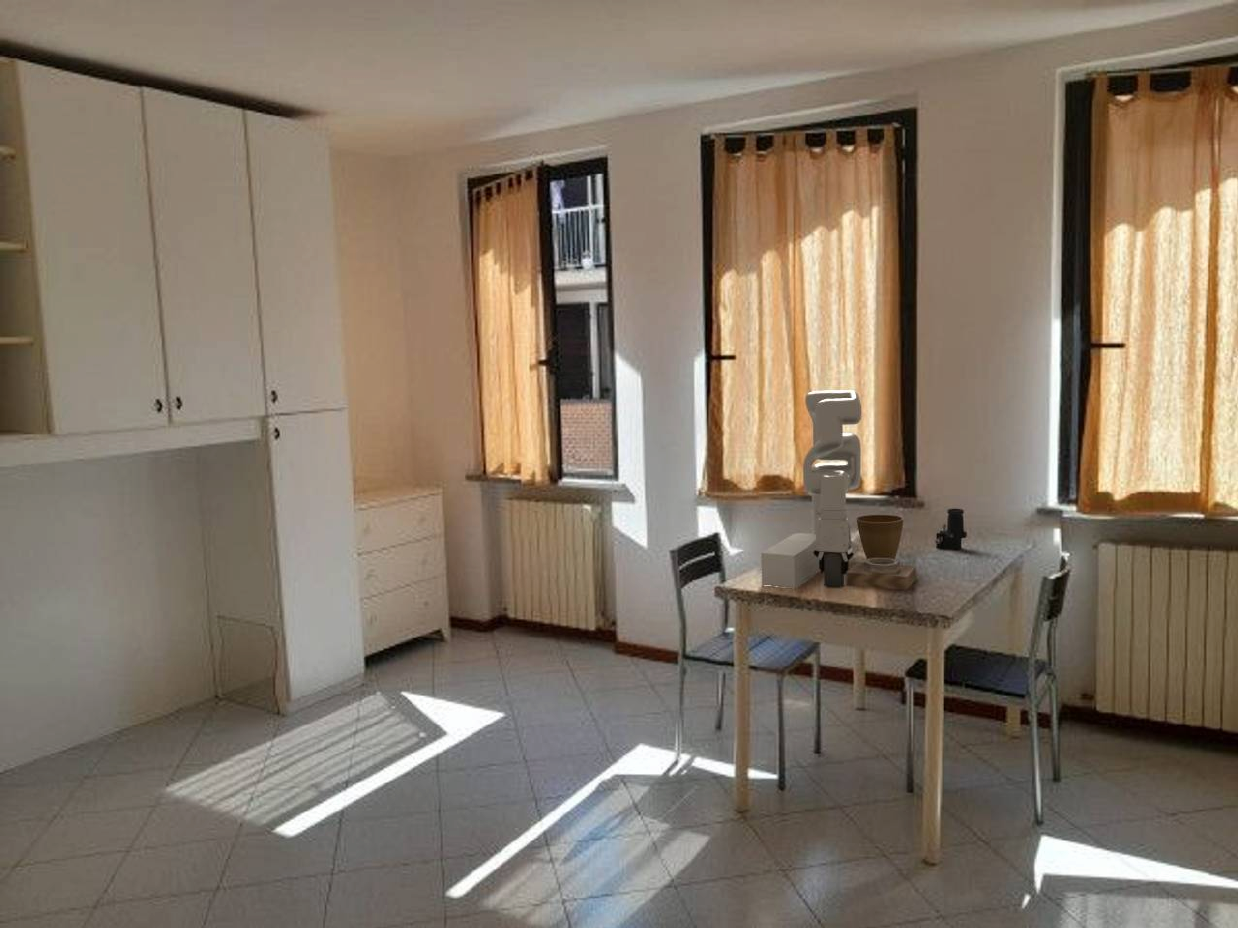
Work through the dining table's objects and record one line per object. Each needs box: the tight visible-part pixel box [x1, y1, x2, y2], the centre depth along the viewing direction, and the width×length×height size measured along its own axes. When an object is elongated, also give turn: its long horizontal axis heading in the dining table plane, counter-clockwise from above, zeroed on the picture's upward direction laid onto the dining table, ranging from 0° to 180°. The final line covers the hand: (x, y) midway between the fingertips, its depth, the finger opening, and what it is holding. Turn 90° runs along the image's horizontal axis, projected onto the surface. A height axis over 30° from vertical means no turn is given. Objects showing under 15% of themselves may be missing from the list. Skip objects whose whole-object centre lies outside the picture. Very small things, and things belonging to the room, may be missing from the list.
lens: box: [823, 552, 845, 589], centre depth 297 cm, size 6×6×10 cm
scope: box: [934, 508, 968, 551], centre depth 339 cm, size 8×14×10 cm
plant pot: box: [856, 514, 904, 560], centre depth 319 cm, size 15×15×16 cm
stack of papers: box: [760, 532, 821, 589], centre depth 310 cm, size 32×11×11 cm, turn 151°
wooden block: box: [846, 557, 917, 591], centre depth 298 cm, size 18×14×6 cm
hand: (833, 572), depth 297 cm, fingers closed on lens, 6 cm apart
